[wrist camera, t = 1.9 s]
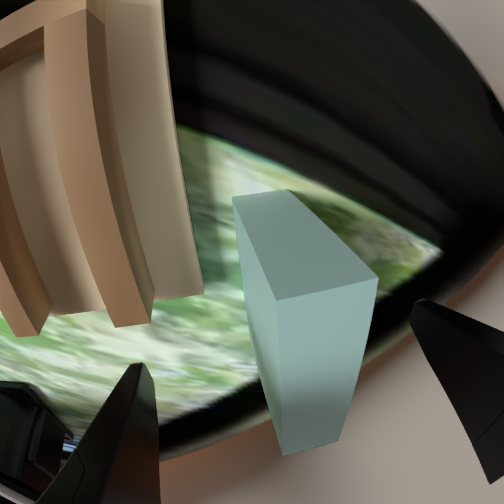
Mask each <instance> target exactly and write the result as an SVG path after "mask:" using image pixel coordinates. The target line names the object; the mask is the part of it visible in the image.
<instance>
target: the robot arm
mask: <svg viewBox="0 0 504 504" xmlns="http://www.w3.org/2000/svg"><path fill="white" fill-rule="evenodd" d="M410 325H411V327H412V329H413V331H414V333H415V336H416V338H417V339H418V342H419V344H420V346H421V348H422V350H423V352H424V355H425V356H426V359H427V360H428V362H429V364H430V366H431V367H432V369H433V371H434V373H435V374H436V376H437V378H438V380H439V381H440V383H441V385H442V387H443V389H444V390H445V392H446V394H447V396H448V398H449V399H450V402H451V403H452V405H453V407H454V409H455V411H456V413H457V415H458V417H459V419H460V421H461V423H462V425H463V427H464V429H465V431H466V433H467V435H468V437H469V439H470V441H471V443H472V446H473V448H474V450H475V452H476V454H477V457H478V459H479V461H480V464H481V466H482V468H483V470H484V473H485V475H486V478H487V480H488V482H489V484H492V483H494V482H495V481H497V480H498V479H499V478H501V477H502V476H504V332H503V331H500V330H498V329H496V328H493V327H491V326H489V325H486V324H484V323H482V322H479V321H477V320H475V319H472V318H470V317H467V316H465V315H463V314H461V313H458V312H456V311H454V310H451V309H449V308H446V307H444V306H442V305H439V304H437V303H434V302H432V301H430V300H427V299H422V300H419V301H417V302H415V304H414V307H413V310H412V314H411V317H410ZM73 439H74V435H73V434H72V433H71V432H70V431H69V430H68V429H67V428H66V427H65V426H64V425H63V424H62V423H61V422H60V421H59V420H58V419H57V418H56V417H55V416H54V415H53V414H52V413H51V412H50V411H49V410H48V409H47V407H46V406H45V405H44V404H43V403H42V402H41V401H40V400H39V398H38V397H37V396H36V395H35V394H34V393H33V391H32V390H31V389H30V388H29V387H28V386H26V385H24V384H20V383H4V382H0V491H1V492H2V493H4V494H7V495H8V496H10V497H12V498H14V499H16V500H18V501H20V502H22V503H24V504H161V498H160V476H159V427H158V418H157V409H156V399H155V388H154V382H153V379H152V377H151V375H150V373H149V371H148V369H147V367H146V365H145V364H144V363H142V362H141V363H132V364H130V365H129V367H128V368H127V370H126V371H125V373H124V374H123V376H122V377H121V379H120V380H119V382H118V383H117V385H116V386H115V388H114V389H113V391H112V392H111V394H110V395H109V397H108V398H107V400H106V401H105V403H104V404H103V406H102V407H101V409H100V410H99V412H98V413H97V415H96V416H95V418H94V419H93V421H92V422H91V424H90V425H89V427H88V429H87V430H86V432H85V433H84V435H83V436H82V438H81V440H80V441H79V443H78V444H77V446H76V448H75V449H74V450H73V452H72V454H71V455H70V457H69V458H68V460H67V461H66V463H65V464H64V466H63V467H62V469H61V470H60V472H59V469H60V462H61V456H62V449H63V443H64V441H68V442H73ZM0 504H16V503H14V502H12V501H10V500H8V499H6V498H4V497H2V496H1V495H0Z"/></svg>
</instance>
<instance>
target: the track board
mask: <svg viewBox="0 0 504 504" xmlns="http://www.w3.org/2000/svg"><path fill="white" fill-rule="evenodd" d="M199 294H204V285H203V277H202V272H201V267H200V262H199V257H198V253H197V248H196V242H195V237H194V232H193V227H192V222H191V216H190V211H189V205H188V200H187V194H186V188H185V182H184V176H183V170H182V164H181V157H180V151H179V144H178V138H177V131H176V123H175V116H174V109H173V101H172V93H171V84H170V76H169V66H168V57H167V46H166V35H165V23H164V10H163V0H36V1H34V2H32V3H30V4H28V5H26V6H25V7H23V8H21V9H19V10H17V11H16V12H14V13H12V14H10V15H9V16H7V17H5V18H4V19H2V20H0V310H1V312H2V314H3V316H4V317H5V319H6V321H7V323H8V324H9V326H10V328H11V329H12V331H13V333H14V334H15V336H16V337H26V336H39V334H40V331H41V329H42V327H43V325H44V323H45V321H46V319H47V317H49V316H57V315H65V314H73V313H80V312H88V311H95V310H102V309H107V311H108V313H109V316H110V318H111V320H112V322H113V324H114V326H115V328H116V327H124V326H132V325H139V324H146V323H150V321H151V314H152V306H153V302H156V301H162V300H168V299H175V298H181V297H187V296H193V295H199Z"/></svg>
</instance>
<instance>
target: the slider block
mask: <svg viewBox="0 0 504 504" xmlns="http://www.w3.org/2000/svg"><path fill="white" fill-rule="evenodd" d="M232 205H233V213H234V221H235V229H236V236H237V244H238V252H239V260H240V267H241V275H242V282H243V290H244V297H245V304H246V312H247V319H248V326H249V333H250V340H251V345H252V349H253V353H254V357H255V360H256V364H257V367H258V371H259V375H260V378H261V382H262V385H263V389H264V393H265V396H266V400H267V403H268V407H269V410H270V414H271V417H272V421H273V424H274V428H275V431H276V434H277V438H278V441H279V444H280V448H281V451H282V455H283V456H287V455H291V454H295V453H298V452H302V451H306V450H310V449H313V448H316V447H320V446H323V445H326V444H329V443H332V442H335V441H338V439H339V436H340V433H341V431H342V428H343V425H344V422H345V418H346V415H347V412H348V409H349V406H350V403H351V399H352V396H353V392H354V389H355V385H356V381H357V378H358V374H359V371H360V367H361V363H362V359H363V355H364V351H365V346H366V342H367V337H368V333H369V328H370V323H371V319H372V313H373V308H374V303H375V297H376V292H377V286H378V279H379V277H378V276H377V275H376V274H375V273H374V272H373V271H372V270H371V269H370V268H369V267H368V266H367V265H366V264H365V263H364V262H363V261H362V260H361V259H360V258H359V257H358V256H357V255H356V254H355V253H354V252H353V251H352V250H351V249H350V248H349V247H348V246H347V245H346V244H345V243H344V242H343V241H342V240H341V239H340V238H339V237H338V236H337V235H336V234H335V233H334V232H333V231H332V230H331V229H330V228H329V227H328V226H327V225H325V224H324V223H323V222H322V221H321V220H320V219H319V218H318V217H317V216H316V215H315V214H314V213H313V212H312V211H311V210H310V209H308V208H307V207H306V206H305V205H304V204H303V203H302V202H301V201H300V200H299V199H298V198H296V197H295V196H294V195H293V194H292V193H291V192H290V191H289V190H288V189H286V190H278V191H271V192H264V193H257V194H250V195H243V196H236V197H232Z"/></svg>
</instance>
